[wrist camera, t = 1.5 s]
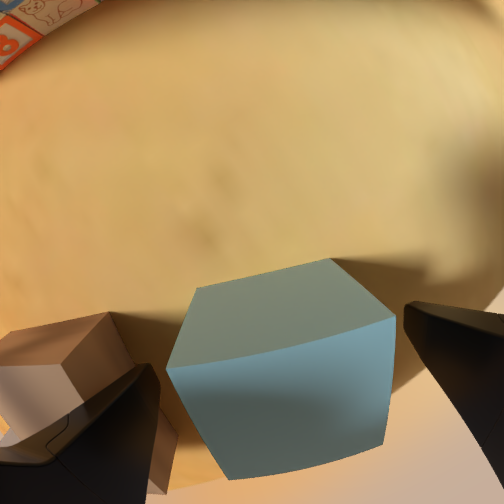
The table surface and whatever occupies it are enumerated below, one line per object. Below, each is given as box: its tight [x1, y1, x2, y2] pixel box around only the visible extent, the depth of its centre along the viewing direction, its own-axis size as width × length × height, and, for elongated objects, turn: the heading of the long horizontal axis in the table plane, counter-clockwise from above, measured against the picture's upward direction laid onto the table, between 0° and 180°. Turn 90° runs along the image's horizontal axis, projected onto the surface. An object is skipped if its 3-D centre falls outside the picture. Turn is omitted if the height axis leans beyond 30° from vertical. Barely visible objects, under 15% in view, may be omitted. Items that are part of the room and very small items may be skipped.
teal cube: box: [166, 258, 396, 480], centre depth 7 cm, size 4×4×4 cm
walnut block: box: [0, 312, 178, 495], centre depth 8 cm, size 7×7×4 cm
